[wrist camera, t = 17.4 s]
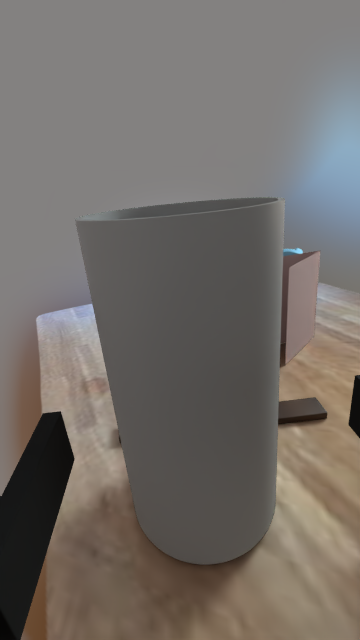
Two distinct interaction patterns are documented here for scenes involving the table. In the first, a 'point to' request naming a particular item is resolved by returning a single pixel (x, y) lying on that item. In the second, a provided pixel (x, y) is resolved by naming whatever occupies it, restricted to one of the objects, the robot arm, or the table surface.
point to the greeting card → (298, 300)
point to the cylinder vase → (193, 364)
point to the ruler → (298, 411)
